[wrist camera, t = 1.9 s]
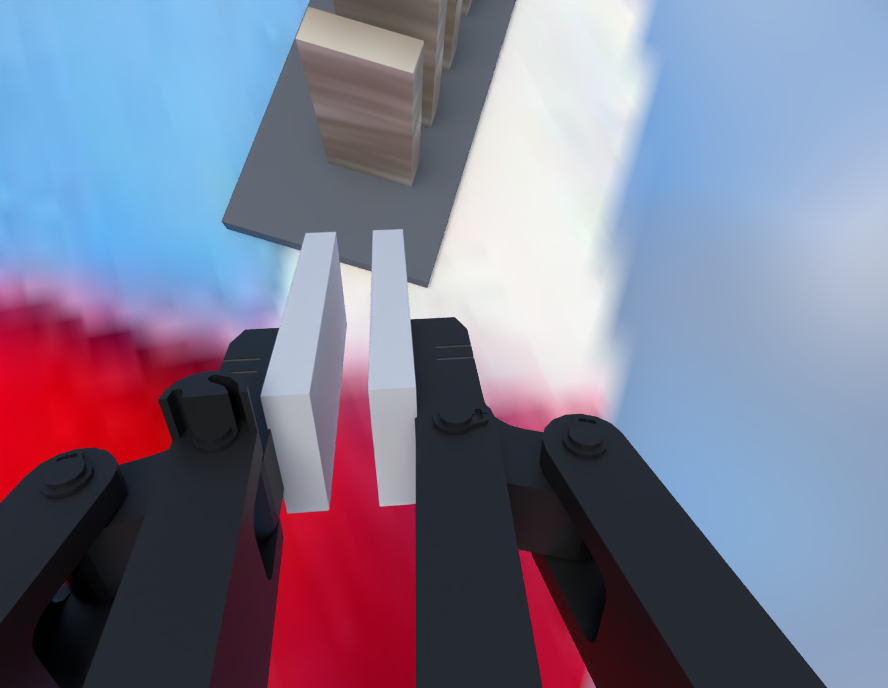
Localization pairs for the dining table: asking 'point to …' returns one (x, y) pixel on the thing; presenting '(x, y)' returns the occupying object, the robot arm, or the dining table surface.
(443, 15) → the domino
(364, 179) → the mat
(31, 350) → the dining table surface
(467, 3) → the domino
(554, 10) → the dining table surface
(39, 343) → the dining table surface
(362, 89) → the domino
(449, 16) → the domino
